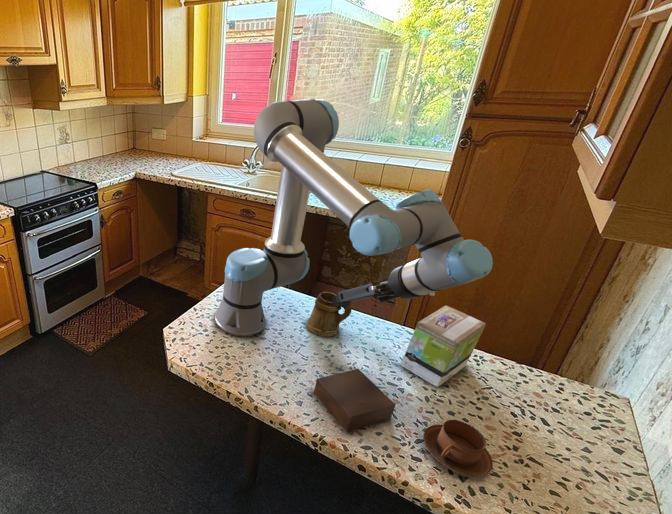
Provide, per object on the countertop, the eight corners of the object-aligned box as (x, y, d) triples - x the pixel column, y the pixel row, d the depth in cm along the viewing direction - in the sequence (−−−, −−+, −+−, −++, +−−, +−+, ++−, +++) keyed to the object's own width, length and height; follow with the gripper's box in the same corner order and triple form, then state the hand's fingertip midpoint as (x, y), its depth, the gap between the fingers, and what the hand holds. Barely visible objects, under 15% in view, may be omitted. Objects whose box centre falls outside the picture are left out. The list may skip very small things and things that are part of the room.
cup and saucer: (484, 494, 76) (497, 473, 73) (414, 455, 83) (423, 435, 81) (493, 453, 84) (504, 433, 81) (428, 421, 91) (437, 401, 88)
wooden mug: (345, 348, 114) (360, 295, 106) (301, 327, 122) (311, 277, 114) (357, 334, 120) (372, 282, 111) (314, 315, 128) (325, 266, 120)
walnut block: (313, 393, 99) (317, 378, 96) (353, 383, 102) (358, 368, 99) (346, 432, 88) (351, 416, 86) (390, 420, 92) (396, 404, 89)
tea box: (438, 389, 100) (459, 342, 93) (399, 365, 108) (415, 321, 101) (466, 366, 107) (487, 322, 100) (428, 346, 115) (444, 303, 108)
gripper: (369, 302, 83) (318, 318, 103) (470, 290, 88) (402, 308, 108) (359, 267, 86) (311, 290, 106) (458, 258, 90) (394, 281, 110)
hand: (357, 299), depth 107 cm, fingers open, 13 cm apart
